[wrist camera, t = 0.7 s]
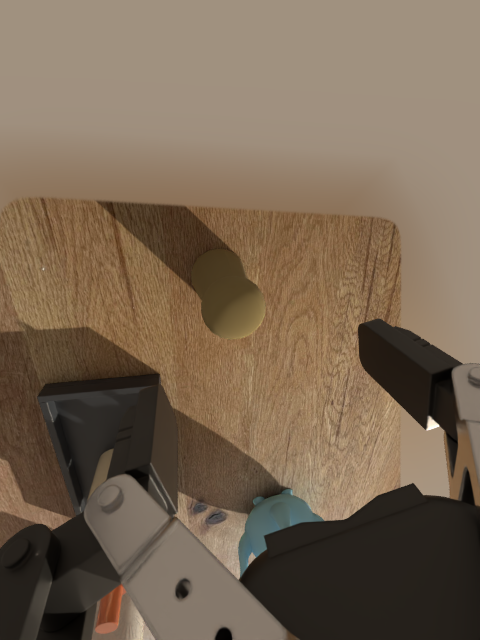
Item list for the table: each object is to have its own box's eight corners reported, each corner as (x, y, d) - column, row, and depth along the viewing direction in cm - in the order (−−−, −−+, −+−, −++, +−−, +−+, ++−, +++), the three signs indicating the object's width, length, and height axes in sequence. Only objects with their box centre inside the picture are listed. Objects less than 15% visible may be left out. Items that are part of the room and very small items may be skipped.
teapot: (275, 536, 55) (294, 605, 46) (219, 518, 49) (228, 593, 40) (322, 492, 52) (353, 557, 43) (268, 469, 47) (290, 538, 38)
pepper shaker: (229, 310, 34) (251, 361, 24) (181, 288, 32) (183, 335, 22) (255, 264, 32) (290, 298, 23) (206, 238, 30) (220, 263, 20)
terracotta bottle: (99, 500, 41) (66, 634, 29) (129, 481, 41) (108, 608, 29) (125, 515, 44) (104, 646, 31) (153, 498, 43) (144, 623, 31)
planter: (138, 542, 48) (128, 634, 38) (155, 581, 53) (150, 670, 43) (58, 563, 46) (26, 664, 36) (83, 601, 52) (62, 699, 42)
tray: (45, 383, 33) (36, 396, 31) (159, 373, 36) (158, 385, 34) (88, 524, 44) (84, 541, 42) (174, 509, 46) (174, 524, 44)
